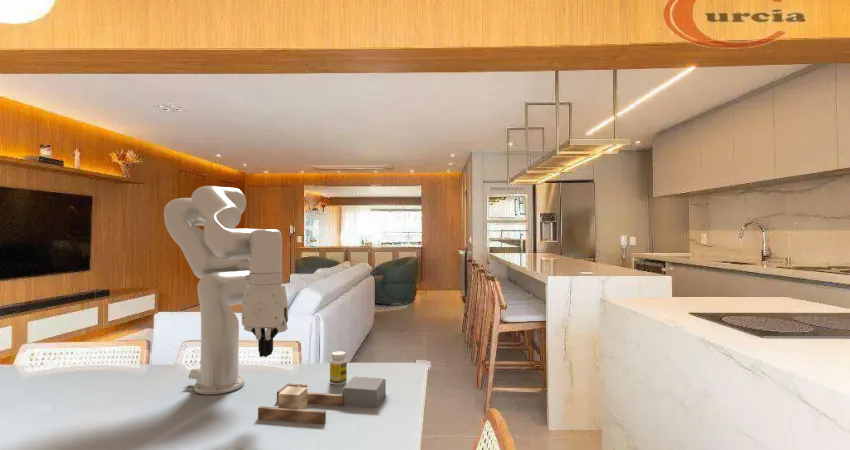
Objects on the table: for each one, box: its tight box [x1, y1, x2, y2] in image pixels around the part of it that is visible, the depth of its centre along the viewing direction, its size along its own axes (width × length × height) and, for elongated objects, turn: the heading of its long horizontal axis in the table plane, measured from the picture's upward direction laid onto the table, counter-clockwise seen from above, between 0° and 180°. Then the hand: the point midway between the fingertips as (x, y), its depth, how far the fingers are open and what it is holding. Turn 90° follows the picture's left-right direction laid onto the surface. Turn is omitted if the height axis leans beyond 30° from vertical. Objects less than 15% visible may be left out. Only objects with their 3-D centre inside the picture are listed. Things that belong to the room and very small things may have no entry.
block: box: [277, 386, 308, 410], centre depth 105 cm, size 5×5×5 cm
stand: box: [341, 376, 387, 409], centre depth 113 cm, size 9×9×4 cm
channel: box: [257, 383, 345, 425], centre depth 107 cm, size 18×16×2 cm
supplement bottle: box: [329, 350, 348, 386], centre depth 125 cm, size 5×5×8 cm
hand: (265, 355), depth 106 cm, fingers closed
